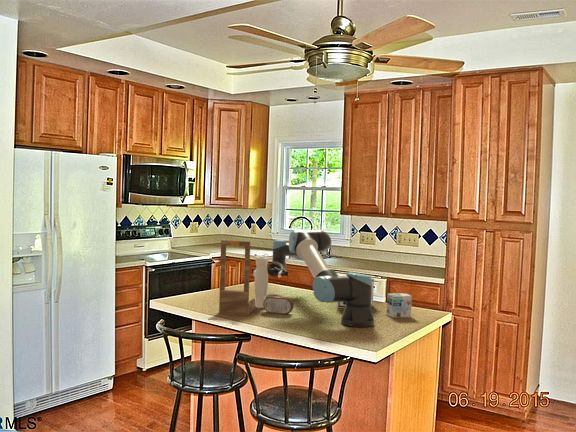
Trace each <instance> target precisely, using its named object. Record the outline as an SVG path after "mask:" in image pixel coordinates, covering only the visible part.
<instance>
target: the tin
mask: <svg viewBox="0 0 576 432" xmlns="http://www.w3.org/2000/svg"><path fill="white" fill-rule="evenodd" d="M266 297H267V298H266V299H265V300H264V303H263V306H264V308H263V309H264V310H265V311H266V312H267V313H268V314H277V315H288V314H290V313H292V311H293V309H294V301H293V300H292V298H289V296H280V295H268V296H266Z"/></svg>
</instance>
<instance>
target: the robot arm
mask: <svg viewBox="0 0 576 432" xmlns="http://www.w3.org/2000/svg"><path fill="white" fill-rule="evenodd" d="M331 246H332V238H331V236H330V234H328V233H327V232H325V231H324V230H320V229H315V230H314V229H294V230H292V231H291V232H290V233H289V237H288V242H287V241H286V239H274V240H273V243H272V263H270V264H269V265H267V271H268V276H271V277H278V279H280V278H282V277H285V276H286V277H289V271H288V270H286V269H287V263H286V257H298V258H300V259H303V261H304V263H305V264H306V266H307V268H308V270H309V271H310V273H311V275H312V277H313V282H312V291H313V295H314V298H315V299H316V300H317V301H318V302H319V303H327V304H328V303H337V302H346V306H345V308H343V311H342V315H341V321H340V323H341V324H342V325H344V326H349V327H355V328H369V327H373V326H374V325H375V317H374V315H373V310H372V307H371V293H372V279H371V278H372V276H370V275H368V274H363V273H359V272H351V271H350V272H348V271H347V272H346V274H345V275H338V273H337V272H336V271H335V270H333V269H331V268H330V266H329V265H328V263H327V262H326V261H325V259H324V258H323V256H322V255H321V253H323V252H326V251H328V250H329V249H330V248H331ZM255 271H256V267H254V268H251V274H252V276H253V277H255Z"/></svg>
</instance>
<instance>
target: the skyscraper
mask: <svg viewBox="0 0 576 432" xmlns="http://www.w3.org/2000/svg"><path fill="white" fill-rule="evenodd" d="M266 256H267V257H266ZM254 260H255V265H256V267H255V268H256V271H255V276H254V279H253V280H254V282H253V283H254V284H253V285H254V295H255V309H258V310H259V309H264V306H263V303H264V300H265V299H266V298H267V297H268V296H267V293H268V290H269V289H268V287H269V274H268V271H267V267H268V263H269V260H270V257H269V254H268V253H264V254H263V255H256V256H254Z"/></svg>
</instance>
